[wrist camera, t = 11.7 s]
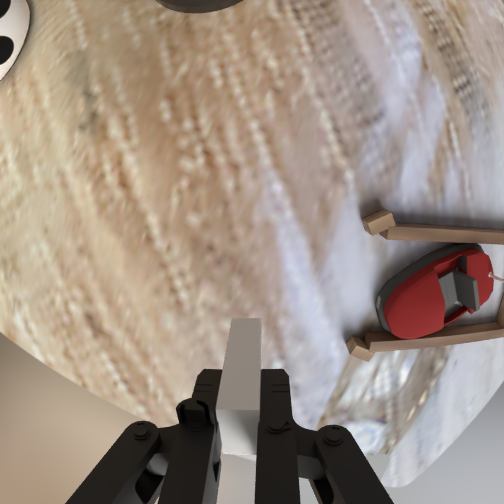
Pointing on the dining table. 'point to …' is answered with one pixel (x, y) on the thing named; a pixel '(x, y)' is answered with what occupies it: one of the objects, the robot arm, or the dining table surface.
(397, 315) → the bumper car
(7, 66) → the milk container
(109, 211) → the dining table surface
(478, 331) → the cradle
